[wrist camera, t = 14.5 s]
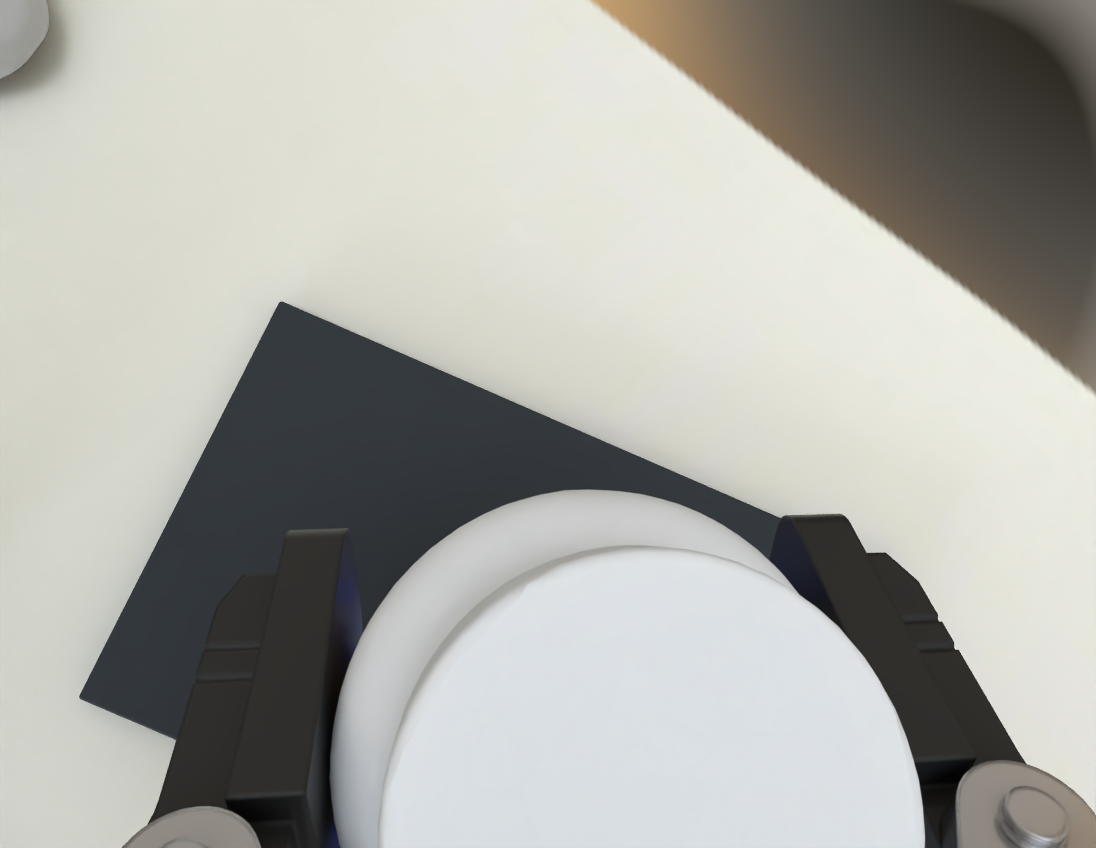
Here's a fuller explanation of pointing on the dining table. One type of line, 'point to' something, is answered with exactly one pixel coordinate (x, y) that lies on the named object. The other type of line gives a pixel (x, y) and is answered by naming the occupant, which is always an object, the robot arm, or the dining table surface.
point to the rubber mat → (348, 491)
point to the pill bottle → (612, 695)
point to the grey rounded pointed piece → (21, 31)
